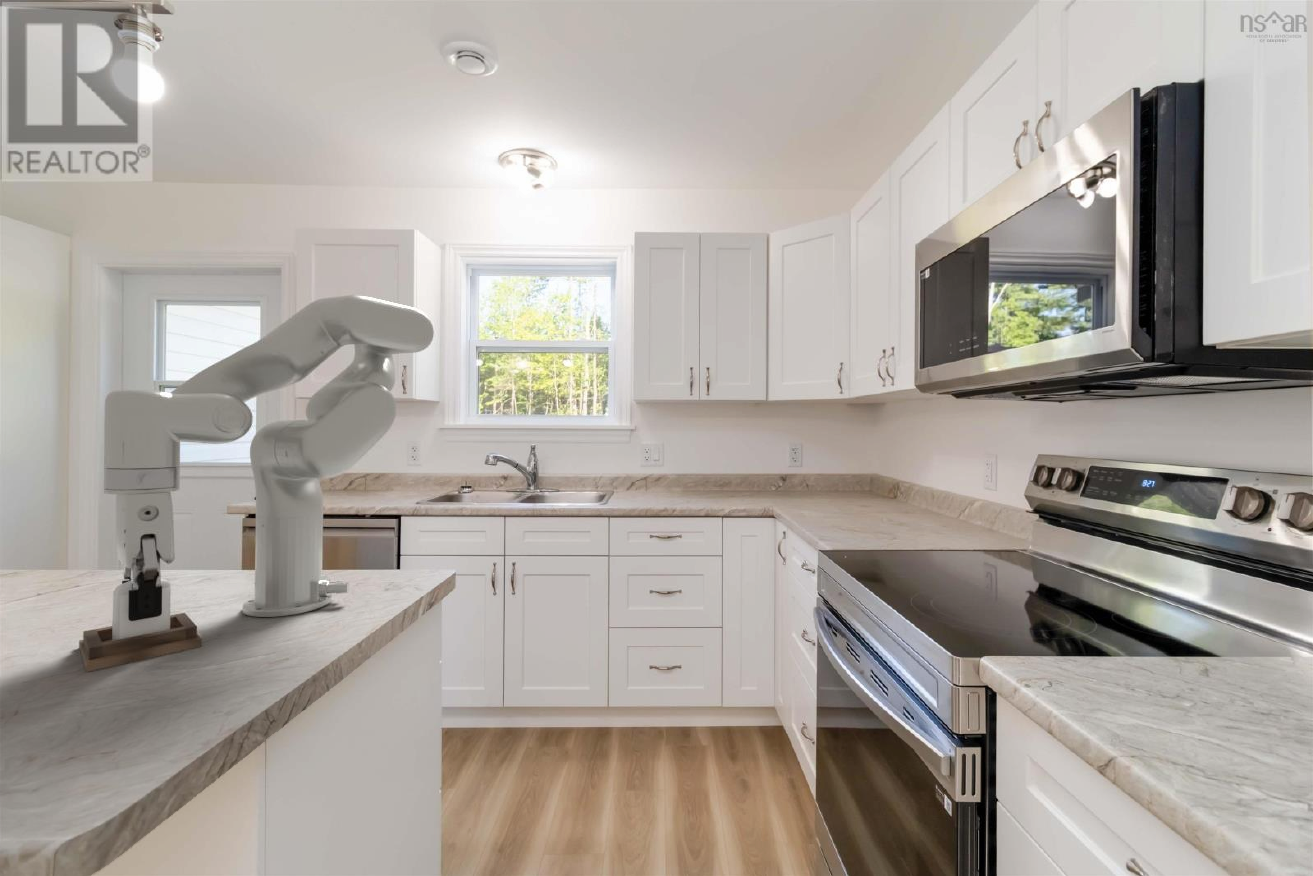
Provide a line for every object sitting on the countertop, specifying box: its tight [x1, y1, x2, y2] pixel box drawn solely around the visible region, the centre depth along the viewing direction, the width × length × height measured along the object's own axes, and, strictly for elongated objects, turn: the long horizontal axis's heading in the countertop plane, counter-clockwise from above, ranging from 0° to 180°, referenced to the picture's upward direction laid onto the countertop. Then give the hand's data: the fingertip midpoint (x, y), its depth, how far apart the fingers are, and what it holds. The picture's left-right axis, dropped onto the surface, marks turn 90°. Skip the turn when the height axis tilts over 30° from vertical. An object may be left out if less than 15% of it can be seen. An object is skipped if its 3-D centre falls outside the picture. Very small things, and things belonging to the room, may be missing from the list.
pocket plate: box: [78, 612, 203, 673], centre depth 74 cm, size 11×11×2 cm
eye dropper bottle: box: [111, 562, 172, 641], centre depth 74 cm, size 4×6×12 cm
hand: (141, 611), depth 74 cm, fingers open, 5 cm apart
